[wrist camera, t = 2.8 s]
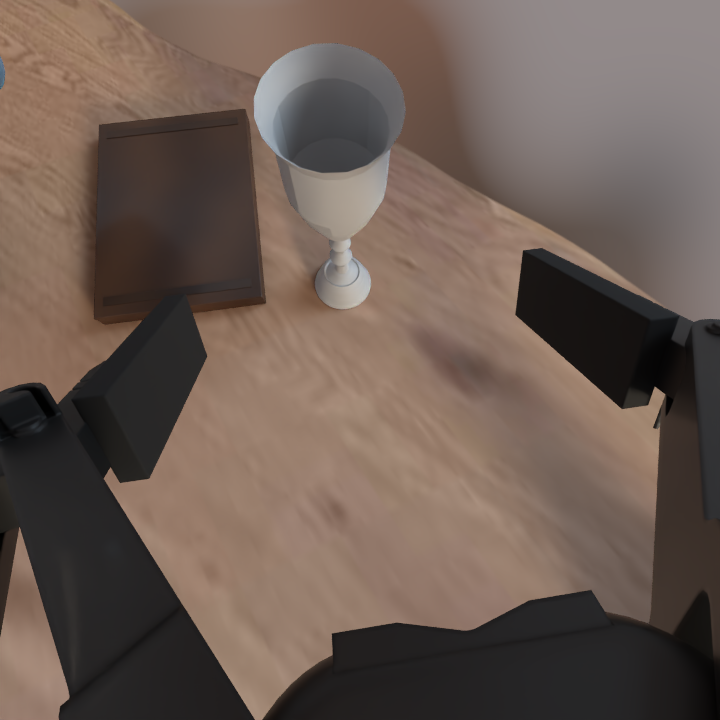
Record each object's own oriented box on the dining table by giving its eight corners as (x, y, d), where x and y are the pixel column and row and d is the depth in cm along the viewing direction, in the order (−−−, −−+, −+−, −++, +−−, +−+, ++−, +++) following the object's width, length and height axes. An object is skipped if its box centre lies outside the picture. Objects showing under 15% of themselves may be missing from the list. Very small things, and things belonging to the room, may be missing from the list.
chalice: (298, 254, 35) (242, 55, 18) (370, 240, 36) (383, 32, 18) (313, 328, 34) (267, 186, 16) (389, 312, 34) (424, 157, 17)
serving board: (104, 324, 34) (92, 318, 32) (108, 137, 39) (98, 123, 37) (265, 303, 34) (261, 296, 33) (249, 121, 39) (244, 107, 38)
